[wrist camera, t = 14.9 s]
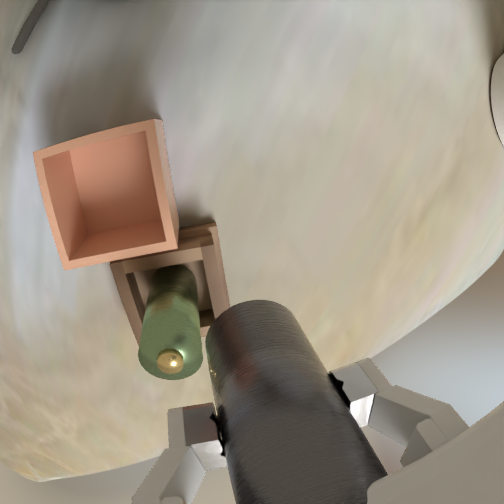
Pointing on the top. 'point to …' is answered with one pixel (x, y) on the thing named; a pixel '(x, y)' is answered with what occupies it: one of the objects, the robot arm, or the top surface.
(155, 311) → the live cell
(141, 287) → the cell holder
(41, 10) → the walkie-talkie
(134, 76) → the top surface
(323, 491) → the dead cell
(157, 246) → the cup
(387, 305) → the top surface
